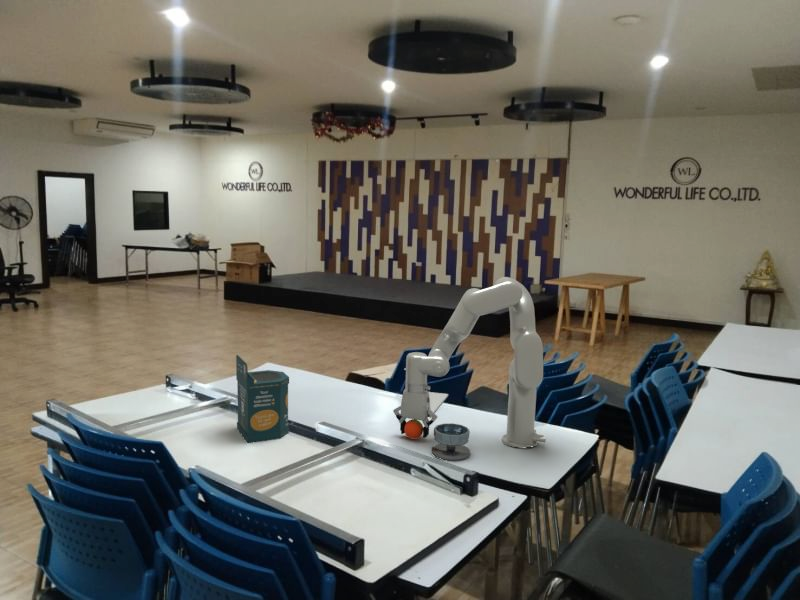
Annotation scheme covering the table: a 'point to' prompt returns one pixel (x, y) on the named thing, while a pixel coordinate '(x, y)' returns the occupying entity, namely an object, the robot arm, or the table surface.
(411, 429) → the clementine
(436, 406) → the baseboard molding
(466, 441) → the stand
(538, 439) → the robot arm
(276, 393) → the donation box
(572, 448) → the table surface
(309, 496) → the table surface
